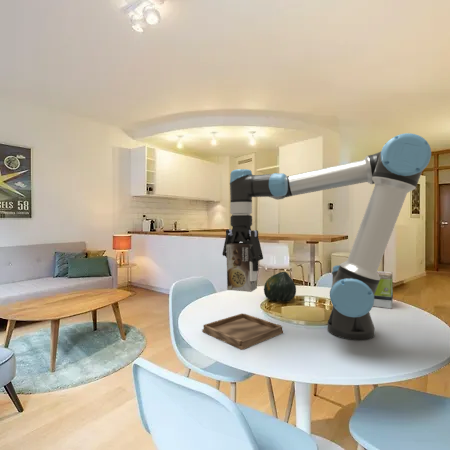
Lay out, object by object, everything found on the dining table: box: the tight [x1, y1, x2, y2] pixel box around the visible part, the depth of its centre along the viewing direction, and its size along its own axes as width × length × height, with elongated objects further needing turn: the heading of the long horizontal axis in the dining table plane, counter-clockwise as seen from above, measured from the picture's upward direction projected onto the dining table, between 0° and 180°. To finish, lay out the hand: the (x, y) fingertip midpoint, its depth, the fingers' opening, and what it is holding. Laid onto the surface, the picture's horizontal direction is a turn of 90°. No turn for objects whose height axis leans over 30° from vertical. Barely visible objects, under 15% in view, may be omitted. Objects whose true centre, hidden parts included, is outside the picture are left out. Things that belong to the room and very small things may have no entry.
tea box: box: [373, 270, 394, 309], centre depth 137 cm, size 15×10×15 cm
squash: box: [263, 271, 297, 303], centre depth 145 cm, size 14×15×15 cm
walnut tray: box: [201, 313, 284, 351], centre depth 105 cm, size 20×20×2 cm
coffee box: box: [226, 242, 258, 293], centre depth 105 cm, size 9×6×16 cm
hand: (241, 278), depth 105 cm, fingers closed on coffee box, 10 cm apart
